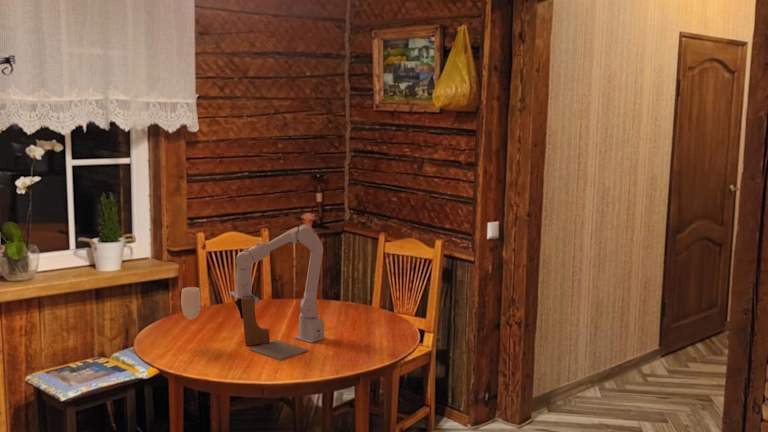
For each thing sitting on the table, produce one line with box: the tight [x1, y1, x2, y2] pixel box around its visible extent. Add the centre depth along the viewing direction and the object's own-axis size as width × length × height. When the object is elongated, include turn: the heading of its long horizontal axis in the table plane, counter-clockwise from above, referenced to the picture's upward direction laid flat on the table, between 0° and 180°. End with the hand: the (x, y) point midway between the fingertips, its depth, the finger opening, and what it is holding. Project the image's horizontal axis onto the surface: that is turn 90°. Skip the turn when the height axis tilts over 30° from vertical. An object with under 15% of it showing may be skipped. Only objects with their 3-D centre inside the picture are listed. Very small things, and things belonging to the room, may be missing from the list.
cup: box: [180, 286, 202, 321], centre depth 286 cm, size 7×7×21 cm
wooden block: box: [241, 295, 271, 346], centre depth 286 cm, size 9×4×18 cm, turn 99°
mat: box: [248, 339, 309, 362], centre depth 281 cm, size 17×14×1 cm
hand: (244, 318), depth 291 cm, fingers closed
